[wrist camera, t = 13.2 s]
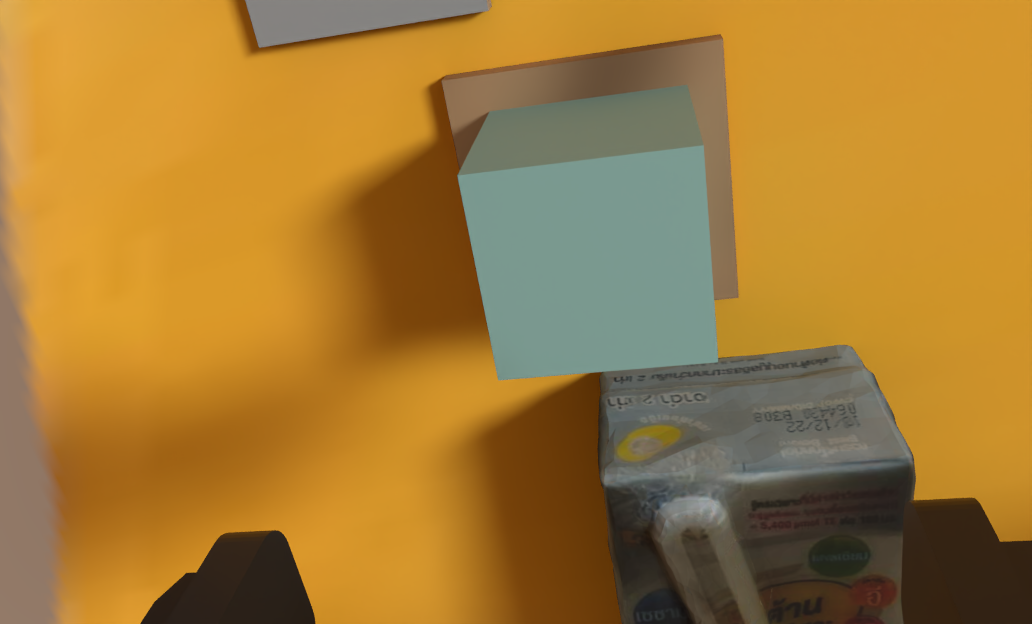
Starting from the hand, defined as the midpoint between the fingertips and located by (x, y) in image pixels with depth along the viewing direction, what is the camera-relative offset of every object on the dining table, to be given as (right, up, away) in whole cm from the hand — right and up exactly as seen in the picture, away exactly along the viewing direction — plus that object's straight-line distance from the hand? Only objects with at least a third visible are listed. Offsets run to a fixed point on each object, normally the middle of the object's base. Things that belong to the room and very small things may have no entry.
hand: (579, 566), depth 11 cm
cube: (+1, +7, +12) cm, 14 cm away
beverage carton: (+7, -6, +19) cm, 21 cm away
